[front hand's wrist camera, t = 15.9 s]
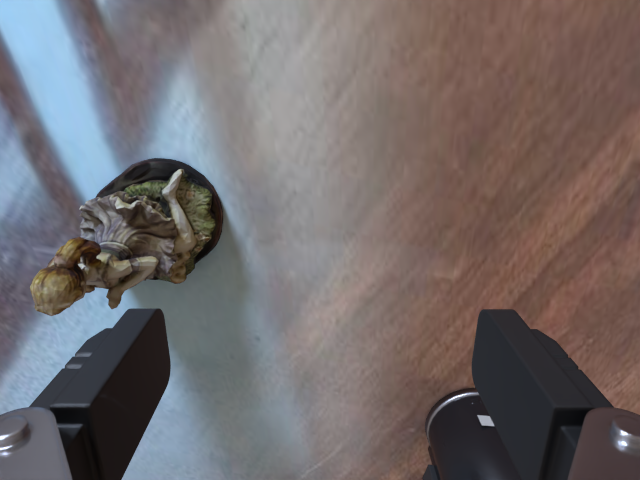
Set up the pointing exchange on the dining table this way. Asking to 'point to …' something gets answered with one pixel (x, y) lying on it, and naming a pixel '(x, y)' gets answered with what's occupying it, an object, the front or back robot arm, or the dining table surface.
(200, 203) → the figurine
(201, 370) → the dining table surface
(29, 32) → the dining table surface
